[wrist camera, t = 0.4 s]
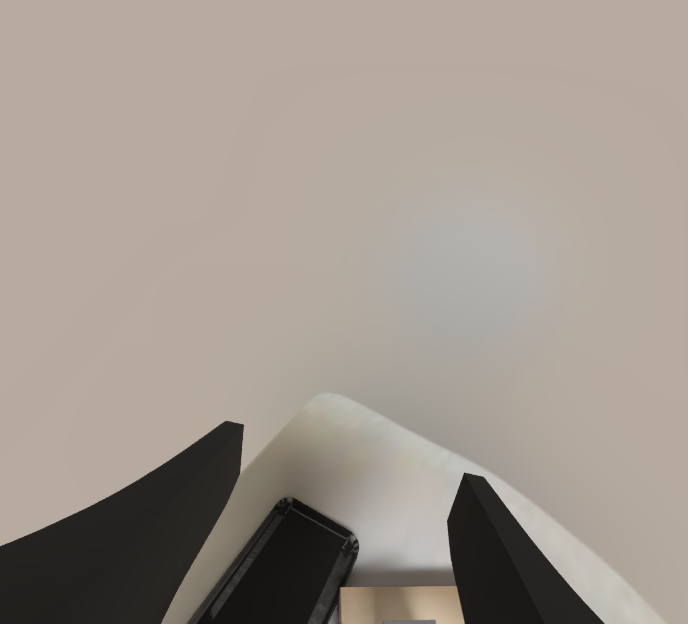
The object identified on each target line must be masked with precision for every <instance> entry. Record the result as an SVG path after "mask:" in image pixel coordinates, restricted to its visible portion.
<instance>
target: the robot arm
mask: <svg viewBox="0 0 688 624" xmlns="http://www.w3.org/2000/svg"><path fill="white" fill-rule="evenodd" d="M243 427H244V425H243V424H238V423H234V422H229V421H225V422H223V423H222V424H220V425H219V426H218V427H216V428H215V429H214V430H212V431H211V432H209V433H208V434H207V435H205V436H204V437H202V438H201V439H199V440H198V441H197V442H195V443H194V444H192V445H191V446H190V447H188V448H187V449H185V450H184V451H183V452H181V453H179V454H178V455H176V456H175V457H173V458H172V459H170V460H169V461H168V462H166V463H164V464H163V465H161V466H160V467H158V468H156V469H155V470H153V471H152V472H150V473H148V474H147V475H145V476H144V477H142V478H140V479H139V480H138V481H135V482H134V483H132V484H130V485H129V486H127V487H125V488H123V489H122V490H120V491H118V492H117V493H115V494H113V495H111V496H109V497H107V498H105V499H103V500H102V501H99V502H98V503H96V504H94V505H92V506H90V507H88V508H86V509H84V510H81V511H79V512H77V513H75V514H73V515H71V516H69V517H67V518H64V519H62V520H60V521H58V522H56V523H54V524H51V525H49V526H47V527H45V528H43V529H41V530H38V531H36V532H34V533H32V534H29V535H27V536H24V537H22V538H19V539H17V540H15V541H13V542H10V543H7V544H5V545H2V546H0V624H161V622H162V620H163V618H164V616H165V614H166V612H167V610H168V608H169V606H170V604H171V602H172V600H173V598H174V596H175V594H176V592H177V590H178V588H179V586H180V585H181V583H182V581H183V579H184V577H185V576H186V574H187V572H188V570H189V569H190V567H191V565H192V563H193V562H194V560H195V558H196V557H197V555H198V553H199V551H200V550H201V548H202V546H203V545H204V543H205V541H206V539H207V538H208V536H209V534H210V532H211V531H212V529H213V527H214V525H215V524H216V522H217V520H218V518H219V517H220V515H221V513H222V511H223V510H224V508H225V506H226V504H227V502H228V500H229V498H230V495H231V493H232V491H233V489H234V486H235V484H236V482H237V479H238V477H239V475H240V466H241V454H242V441H243V429H244V428H243ZM447 525H448V536H449V546H450V555H451V561H452V566H453V571H454V576H455V581H456V585H457V590H458V595H459V600H460V604H461V609H462V614H463V618H464V623H465V624H604V623H603V621H602V620H601V619H600V618H599V617H598V616H597V615H596V614H595V613H594V612H593V611H592V610H591V609H590V608H589V607H588V605H587V604H586V603H585V602H584V601H583V600H582V599H581V598H580V597H579V596H578V594H577V593H576V592H575V591H574V590H573V589H572V588H571V587H570V585H569V584H568V583H567V582H566V581H565V580H564V578H563V577H562V576H561V575H560V574H559V573H558V571H557V570H556V569H555V568H554V567H553V565H552V564H551V563H550V562H549V561H548V559H547V558H546V557H545V556H544V555H543V553H542V552H541V551H540V550H539V548H538V547H537V546H536V545H535V543H534V542H533V541H532V540H531V538H530V537H529V536H528V535H527V533H526V532H525V531H524V529H523V528H522V527H521V526H520V524H519V523H518V522H517V520H516V519H515V518H514V516H513V515H512V514H511V512H510V511H509V510H508V508H507V507H506V506H505V504H504V503H503V502H502V500H501V499H500V498H499V496H498V495H497V494H496V492H495V491H494V490H493V488H492V487H491V486H490V484H489V483H488V482H487V480H486V479H485V478H484V477H482V476H477V475H473V474H468V473H464V475H463V477H462V480H461V483H460V486H459V489H458V491H457V494H456V497H455V500H454V503H453V506H452V508H451V511H450V514H449V517H448V520H447Z"/></svg>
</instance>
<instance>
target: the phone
mask: <svg viewBox="0 0 688 624" xmlns="http://www.w3.org/2000/svg"><path fill="white" fill-rule="evenodd" d="M358 551H359V542H358V539H357V538H356V536H355V535H354V534H353V533H352V532H351V531H349V530H347V529H346V528H344V527H342V526H340V525H339V524H337V523H335V522H334V521H332V520H330V519H329V518H327V517H325V516H324V515H322V514H320V513H319V512H317V511H315V510H313V509H312V508H310V507H308V506H307V505H305V504H303V503H302V502H300V501H298V500H297V499H294V498H291V497H287V498H283V499H282V500H280V501H279V502H278V503H277V504H276V505H275V507H274V508H273V509H272V511H271V512H270V513H269V515H268V516H267V517H266V519H265V520H264V522H263V523H262V524H261V526H260V527H259V528H258V530H257V531H256V532H255V534H254V535H253V536H252V538H251V539H250V540H249V542H248V543H247V544H246V546H245V547H244V548H243V550H242V551H241V552H240V554H239V555H238V557H237V558H236V559H235V561H234V562H233V563H232V565H231V566H230V567H229V569H228V570H227V571H226V573H225V574H224V575H223V577H222V578H221V579H220V581H219V582H218V583H217V585H216V586H215V587H214V589H213V590H212V592H211V593H210V594H209V596H208V597H207V598H206V600H205V601H204V602H203V604H202V605H201V606H200V608H199V609H198V610H197V612H196V613H195V614H194V616H193V617H192V618H191V620H190V621H189V622H188V624H328V623H329V620H330V618H331V616H332V613H333V611H334V609H335V607H336V604H337V602H338V599H339V593H340V587H344V586H345V584H346V582H347V579H348V577H349V575H350V573H351V570H352V568H353V566H354V563H355V561H356V559H357V555H358Z"/></svg>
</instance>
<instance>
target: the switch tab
mask: <svg viewBox="0 0 688 624" xmlns="http://www.w3.org/2000/svg"><path fill="white" fill-rule="evenodd" d="M382 624H436V620H392V621H383V623H382Z"/></svg>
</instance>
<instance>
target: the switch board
mask: <svg viewBox="0 0 688 624" xmlns="http://www.w3.org/2000/svg"><path fill="white" fill-rule="evenodd" d="M338 616H339V624H382V623H383V621H392V620H436V624H465V623H464V618H463V614H462V609H461V604H460V600H459V595H458V590H457V586H414V587H340V593H339V599H338Z"/></svg>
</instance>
